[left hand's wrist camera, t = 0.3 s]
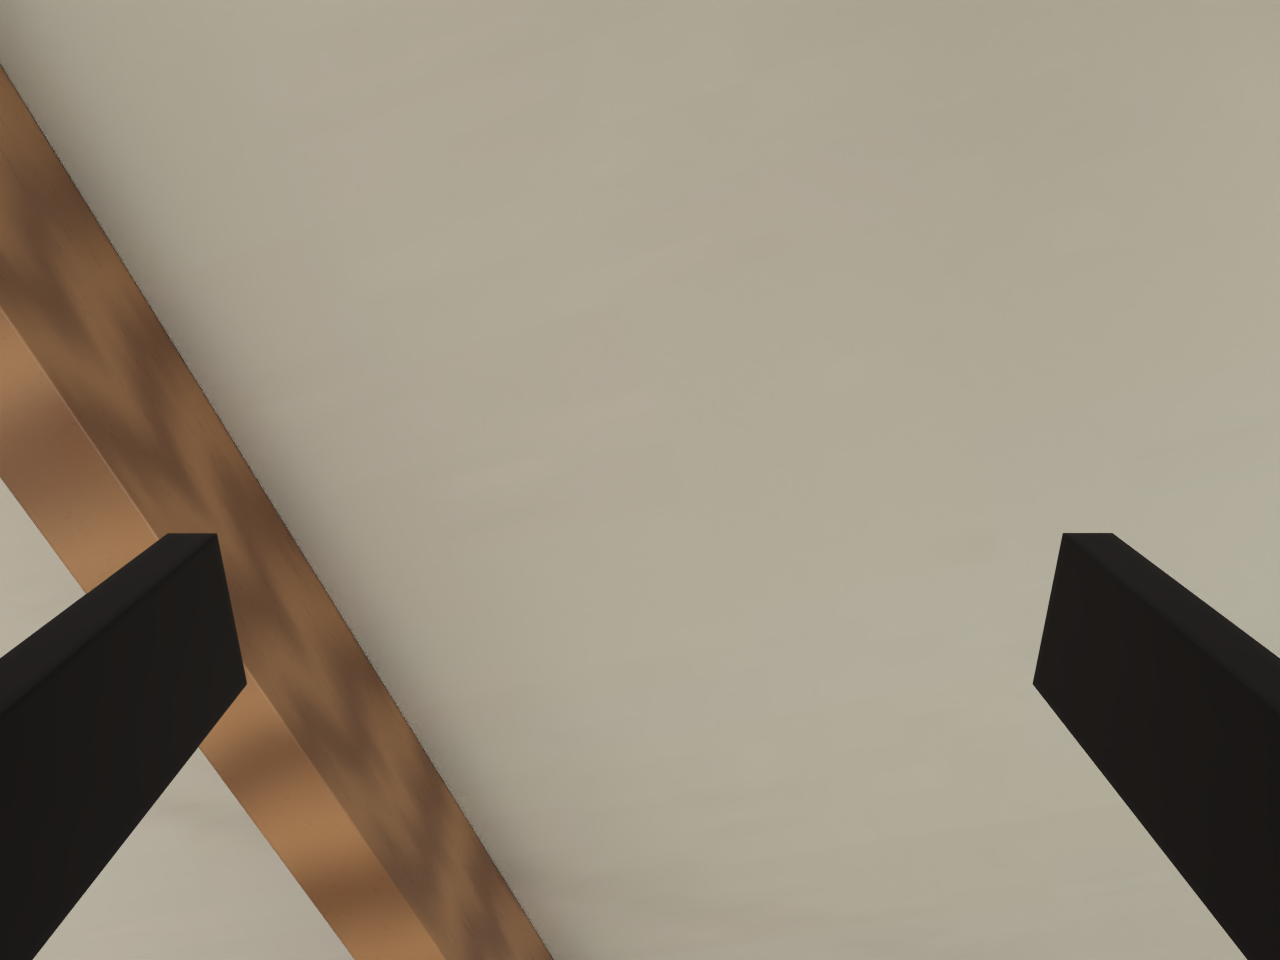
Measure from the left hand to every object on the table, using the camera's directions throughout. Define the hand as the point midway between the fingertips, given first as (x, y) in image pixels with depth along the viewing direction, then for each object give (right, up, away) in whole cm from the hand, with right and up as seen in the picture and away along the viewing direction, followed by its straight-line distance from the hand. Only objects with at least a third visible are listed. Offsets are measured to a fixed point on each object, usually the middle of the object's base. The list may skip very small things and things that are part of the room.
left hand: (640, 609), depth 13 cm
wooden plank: (-20, -2, +30) cm, 36 cm away
